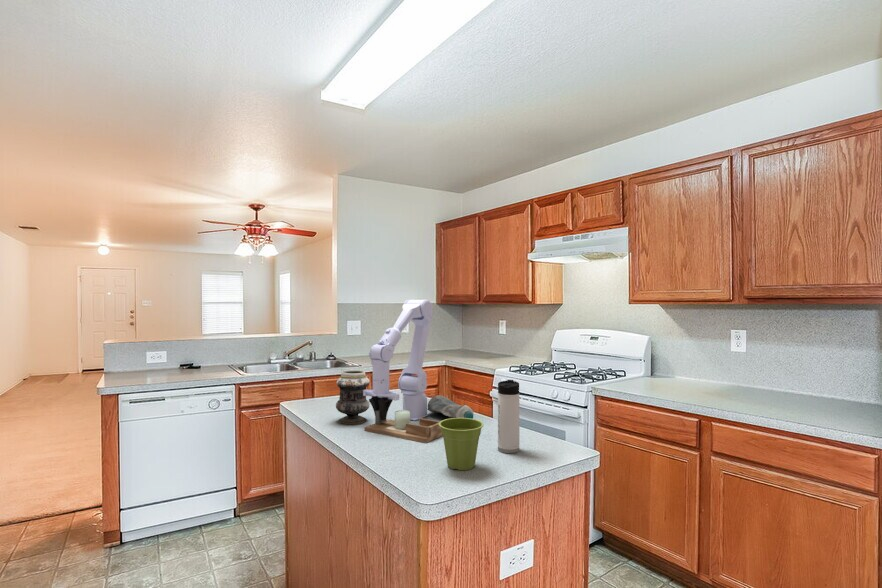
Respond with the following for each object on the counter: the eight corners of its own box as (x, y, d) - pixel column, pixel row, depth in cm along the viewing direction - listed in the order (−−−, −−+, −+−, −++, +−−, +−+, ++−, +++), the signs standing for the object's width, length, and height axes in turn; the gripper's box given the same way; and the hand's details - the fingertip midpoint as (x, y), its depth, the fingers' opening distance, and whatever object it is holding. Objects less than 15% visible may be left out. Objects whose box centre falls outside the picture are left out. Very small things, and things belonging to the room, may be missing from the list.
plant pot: (429, 466, 123) (429, 423, 123) (460, 455, 131) (460, 415, 131) (462, 478, 114) (462, 432, 114) (492, 466, 123) (492, 423, 123)
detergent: (422, 413, 180) (451, 427, 157) (423, 394, 180) (453, 406, 158) (452, 412, 186) (485, 426, 163) (453, 394, 186) (486, 405, 164)
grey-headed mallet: (383, 421, 162) (383, 406, 162) (412, 426, 155) (412, 411, 155) (374, 424, 158) (374, 409, 158) (403, 430, 151) (403, 414, 151)
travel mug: (521, 447, 138) (521, 380, 138) (517, 454, 132) (517, 383, 132) (500, 445, 140) (500, 379, 140) (495, 452, 134) (495, 382, 134)
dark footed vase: (366, 425, 162) (366, 373, 162) (332, 425, 162) (332, 373, 162) (372, 416, 174) (372, 368, 174) (339, 416, 174) (340, 368, 175)
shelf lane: (387, 422, 166) (387, 410, 166) (446, 433, 152) (446, 420, 152) (364, 430, 156) (364, 418, 156) (425, 443, 142) (425, 429, 142)
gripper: (357, 379, 160) (357, 418, 160) (390, 383, 153) (390, 424, 152) (370, 376, 166) (370, 414, 166) (403, 380, 159) (403, 419, 158)
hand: (380, 418), depth 160 cm, fingers closed on grey-headed mallet, 2 cm apart
